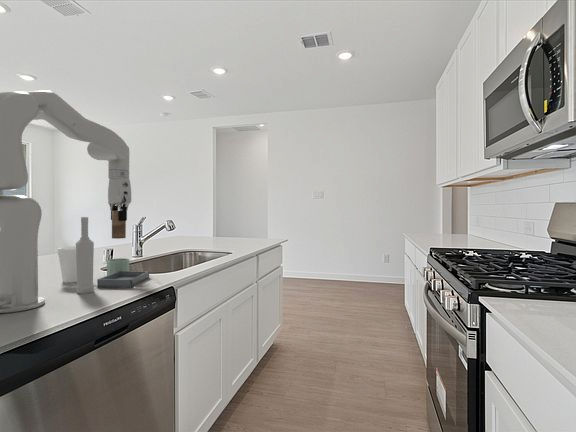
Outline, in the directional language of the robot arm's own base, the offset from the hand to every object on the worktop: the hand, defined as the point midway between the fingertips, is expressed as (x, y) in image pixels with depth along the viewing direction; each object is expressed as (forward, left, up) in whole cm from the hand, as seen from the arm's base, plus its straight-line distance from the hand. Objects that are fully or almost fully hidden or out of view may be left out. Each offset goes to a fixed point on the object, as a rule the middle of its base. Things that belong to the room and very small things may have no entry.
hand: (118, 220), depth 136 cm
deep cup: (+2, +1, -23) cm, 23 cm away
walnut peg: (0, 0, -7) cm, 7 cm away
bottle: (-24, -1, -23) cm, 33 cm away
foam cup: (-10, +12, -23) cm, 28 cm away
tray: (-11, -8, -23) cm, 27 cm away
